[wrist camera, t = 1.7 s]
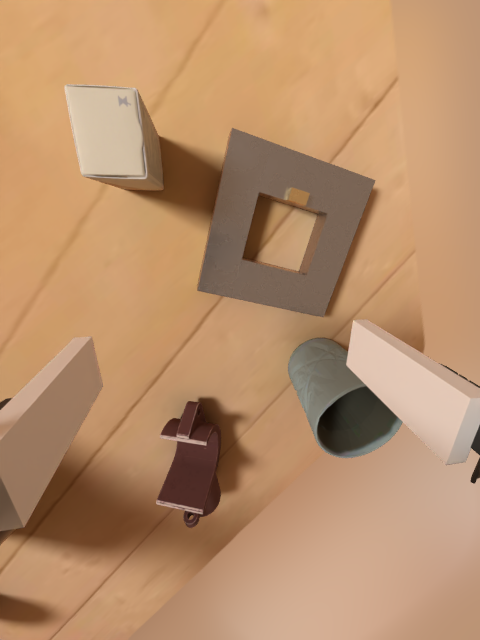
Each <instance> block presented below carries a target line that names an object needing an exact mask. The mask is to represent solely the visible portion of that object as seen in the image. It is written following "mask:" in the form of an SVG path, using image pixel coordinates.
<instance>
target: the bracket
mask: <svg viewBox="0 0 480 640" xmlns="http://www.w3.org/2000/svg"><path fill="white" fill-rule="evenodd" d="M160 438H162V439H168V440H174V441H177V449H176V453H175V457H174V460H173V462H172V465H171V467H170V470H169V472H168V474H167V477H166V479H165V482H164V484H163V486H162V489H161V491H160V494H159V496H158V498H157V501H156V504H158V505H162V506H167V507H171V508H176V509H180V510H185V512H184V516H183V519H184V522H185V524H186V525H187V527H189V528H192V527H195V526H196V525H197V524H198V521H199V518H200V517H204V516H207V515H209V514H211V513H212V512H213V511H214V510H215V509H216V507H217V506H218V504H219V501H220V497H221V492H220V487H219V483H218V479H217V476H216V470H217V466H218V461H219V455H220V447H221V431H220V427H219V425H218V424H212V423H206V419H205V415H204V411H203V407H202V403H199V402H191V401H188V402H187V404H186V406H185V409H184V413H183V416H182V419H177V418H173V419H171V420H170V421H169V422H168V423H167V424H166V425H165V427H164V428H163V430H162V432H161V434H160ZM191 515H194V517H193V519H191V520H189V517H190V516H191Z"/></svg>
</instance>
